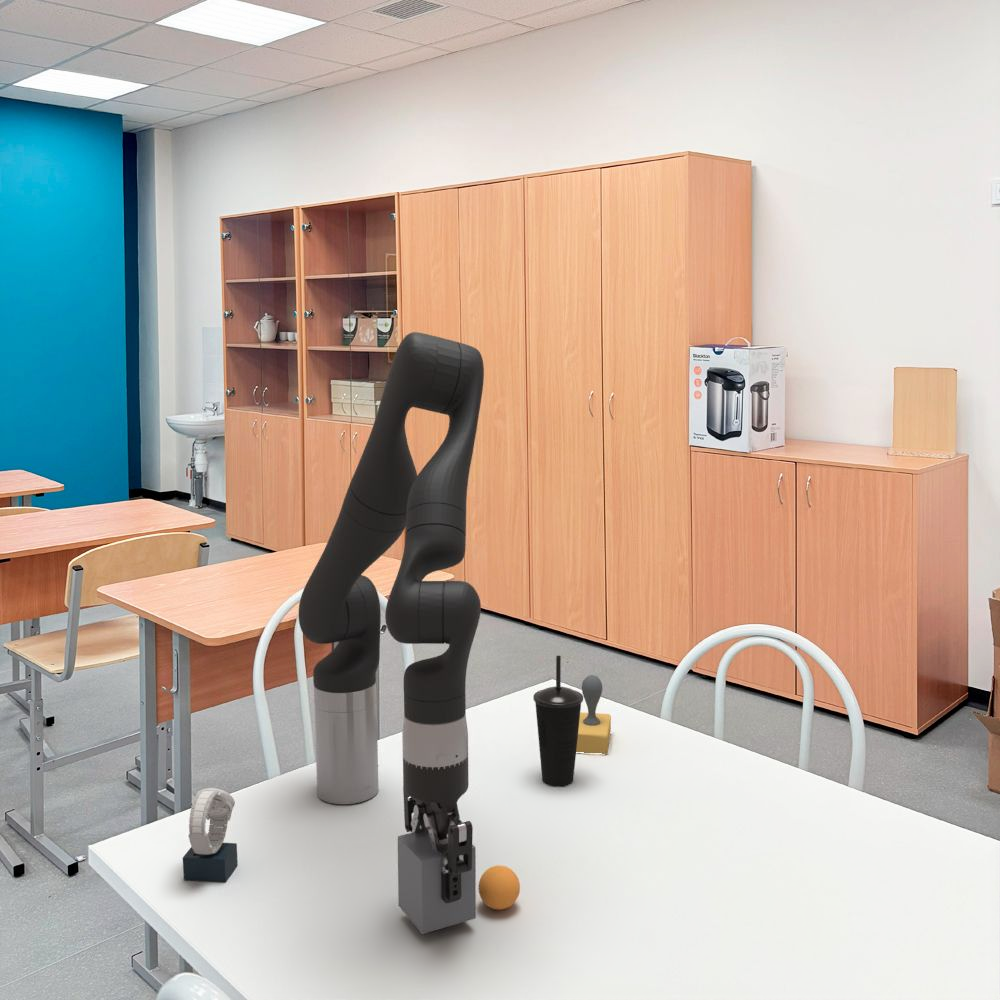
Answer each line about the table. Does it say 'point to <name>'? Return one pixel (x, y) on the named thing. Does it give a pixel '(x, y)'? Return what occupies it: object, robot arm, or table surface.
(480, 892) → the ball
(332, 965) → the table surface
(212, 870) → the watch
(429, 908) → the grey block
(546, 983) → the table surface
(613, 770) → the table surface
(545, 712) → the drinking cup
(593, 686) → the rubber stamp
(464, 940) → the table surface
